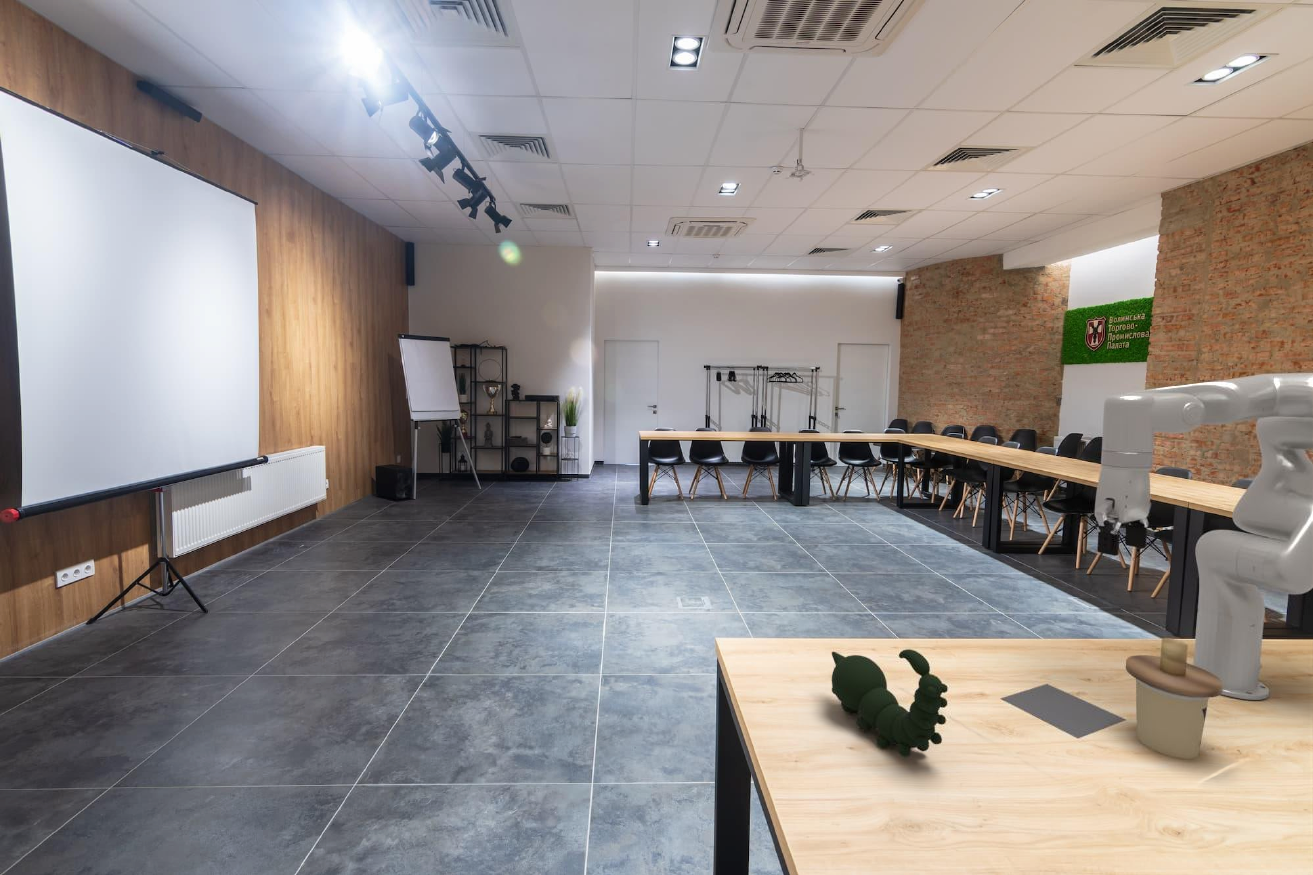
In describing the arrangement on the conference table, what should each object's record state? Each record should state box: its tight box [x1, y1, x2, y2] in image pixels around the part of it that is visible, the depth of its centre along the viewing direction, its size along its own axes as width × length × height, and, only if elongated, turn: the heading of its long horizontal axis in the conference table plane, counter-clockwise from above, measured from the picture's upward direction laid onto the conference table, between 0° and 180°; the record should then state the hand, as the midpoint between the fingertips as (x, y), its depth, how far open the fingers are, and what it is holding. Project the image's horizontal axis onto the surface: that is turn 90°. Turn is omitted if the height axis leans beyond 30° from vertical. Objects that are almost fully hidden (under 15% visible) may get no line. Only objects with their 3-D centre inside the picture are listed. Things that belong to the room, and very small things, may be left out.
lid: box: [1125, 637, 1223, 699], centre depth 96 cm, size 12×12×6 cm
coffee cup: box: [1135, 678, 1210, 760], centre depth 97 cm, size 9×9×12 cm
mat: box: [1000, 683, 1127, 739], centre depth 108 cm, size 14×14×1 cm
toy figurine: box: [831, 648, 948, 758], centre depth 101 cm, size 9×19×25 cm
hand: (1121, 550), depth 110 cm, fingers open, 9 cm apart
